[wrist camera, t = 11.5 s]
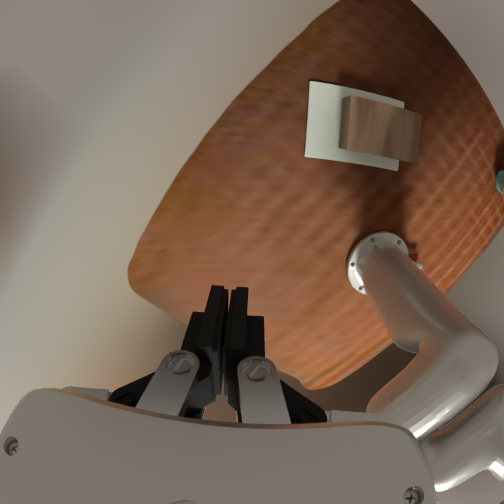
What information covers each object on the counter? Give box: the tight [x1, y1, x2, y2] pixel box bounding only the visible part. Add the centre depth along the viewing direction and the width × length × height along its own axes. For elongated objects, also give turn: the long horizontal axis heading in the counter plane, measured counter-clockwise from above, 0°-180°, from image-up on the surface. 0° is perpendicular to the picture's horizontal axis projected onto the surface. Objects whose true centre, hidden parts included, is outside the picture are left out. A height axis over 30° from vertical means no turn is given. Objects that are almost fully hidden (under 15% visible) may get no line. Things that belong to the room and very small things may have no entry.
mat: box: [304, 81, 404, 171], centre depth 36 cm, size 16×12×1 cm
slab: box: [339, 95, 422, 164], centre depth 34 cm, size 4×8×12 cm
